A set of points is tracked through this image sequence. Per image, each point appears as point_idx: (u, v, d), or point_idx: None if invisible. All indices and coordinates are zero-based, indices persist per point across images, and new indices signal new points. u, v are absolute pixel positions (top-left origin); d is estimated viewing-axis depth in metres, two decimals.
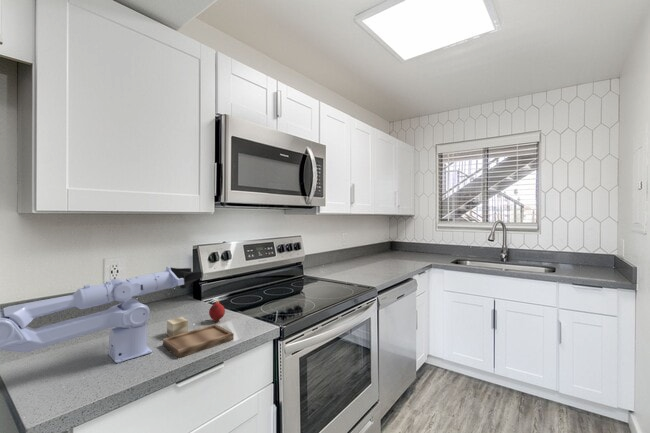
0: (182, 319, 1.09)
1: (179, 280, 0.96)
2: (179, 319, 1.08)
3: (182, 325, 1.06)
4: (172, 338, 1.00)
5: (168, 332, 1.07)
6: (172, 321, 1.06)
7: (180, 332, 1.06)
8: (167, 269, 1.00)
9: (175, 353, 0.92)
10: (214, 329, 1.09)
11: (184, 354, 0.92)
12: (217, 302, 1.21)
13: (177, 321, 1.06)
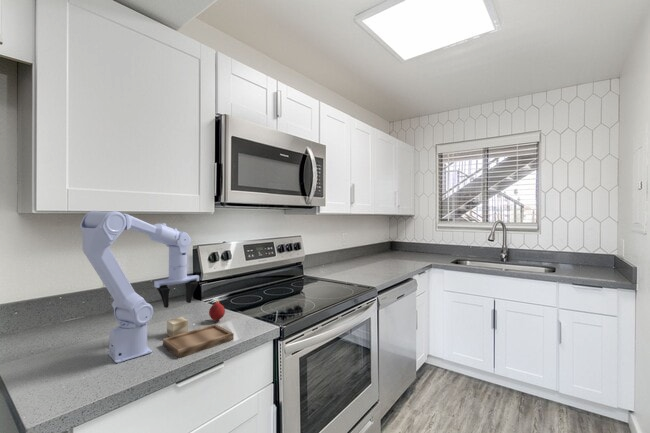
0: (182, 319, 1.09)
1: None
2: (179, 319, 1.08)
3: (182, 325, 1.06)
4: (172, 338, 1.00)
5: (168, 332, 1.07)
6: (172, 321, 1.06)
7: (180, 332, 1.06)
8: None
9: (175, 353, 0.92)
10: (214, 329, 1.09)
11: (184, 354, 0.92)
12: (217, 302, 1.21)
13: (177, 321, 1.06)
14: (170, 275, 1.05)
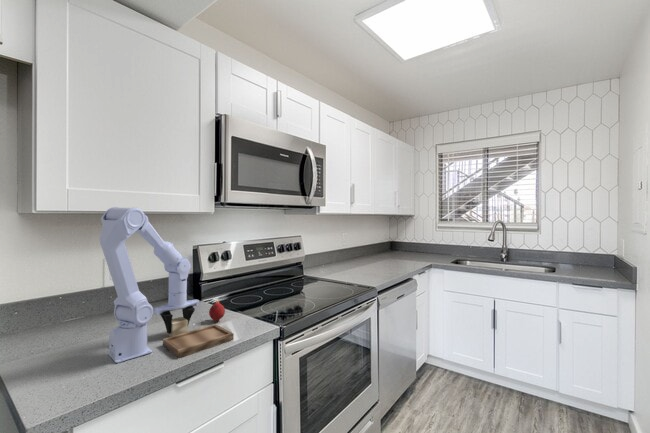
0: (182, 319, 1.09)
1: None
2: (179, 319, 1.08)
3: (182, 325, 1.06)
4: (172, 338, 1.00)
5: None
6: (172, 321, 1.06)
7: (180, 332, 1.06)
8: None
9: (175, 353, 0.92)
10: (214, 329, 1.09)
11: (184, 354, 0.92)
12: (217, 302, 1.21)
13: (177, 321, 1.06)
14: (170, 301, 1.05)
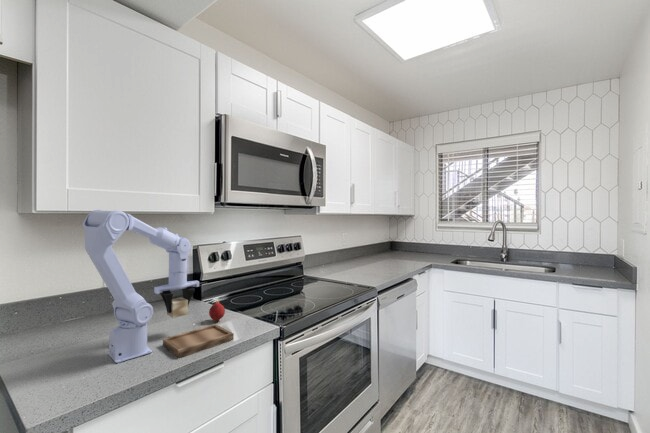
0: (182, 299, 1.08)
1: None
2: (179, 299, 1.08)
3: (182, 305, 1.06)
4: (172, 338, 1.00)
5: None
6: (172, 301, 1.06)
7: (180, 311, 1.06)
8: None
9: (175, 353, 0.92)
10: (214, 329, 1.09)
11: (184, 354, 0.92)
12: (217, 302, 1.21)
13: (177, 301, 1.06)
14: (170, 281, 1.05)
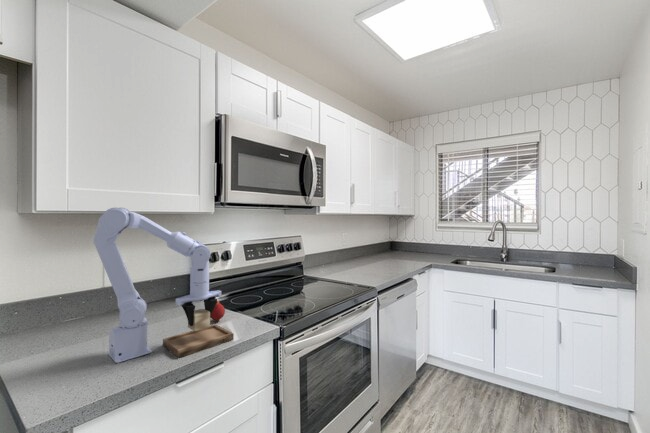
0: (204, 310, 1.02)
1: None
2: (200, 311, 1.02)
3: (204, 317, 1.00)
4: (172, 338, 1.00)
5: None
6: (194, 313, 1.00)
7: (202, 324, 1.00)
8: None
9: (175, 353, 0.92)
10: (214, 329, 1.09)
11: (184, 354, 0.92)
12: (217, 302, 1.21)
13: (199, 313, 1.00)
14: (192, 292, 0.98)
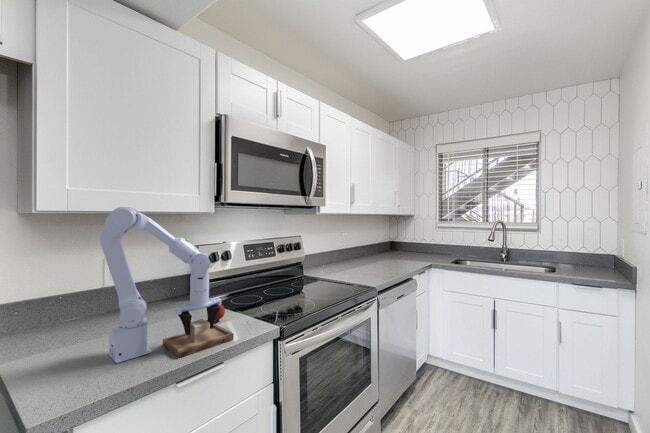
0: (204, 321, 1.02)
1: None
2: (200, 322, 1.02)
3: (204, 328, 1.00)
4: (172, 338, 1.00)
5: (189, 335, 1.00)
6: (194, 324, 1.00)
7: (202, 335, 1.00)
8: None
9: (175, 353, 0.92)
10: (214, 329, 1.09)
11: (184, 354, 0.92)
12: None
13: (198, 324, 1.00)
14: (192, 300, 0.98)
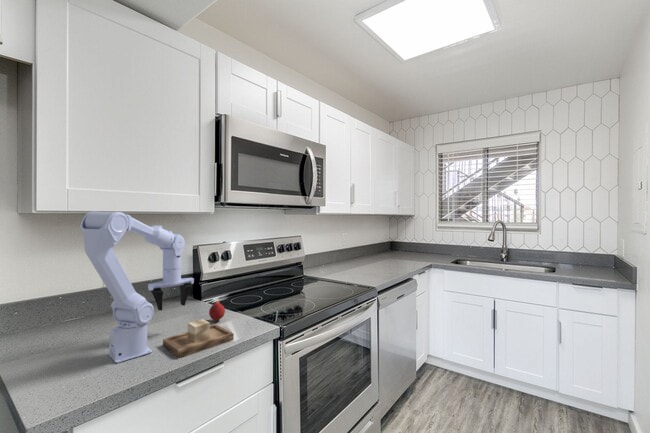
0: (204, 321, 1.02)
1: None
2: (200, 322, 1.02)
3: (204, 328, 1.00)
4: (172, 338, 1.00)
5: (189, 335, 1.00)
6: (194, 324, 1.00)
7: (202, 335, 1.00)
8: None
9: (175, 353, 0.92)
10: (214, 329, 1.09)
11: (184, 354, 0.92)
12: (217, 302, 1.21)
13: (198, 324, 1.00)
14: (164, 278, 1.05)
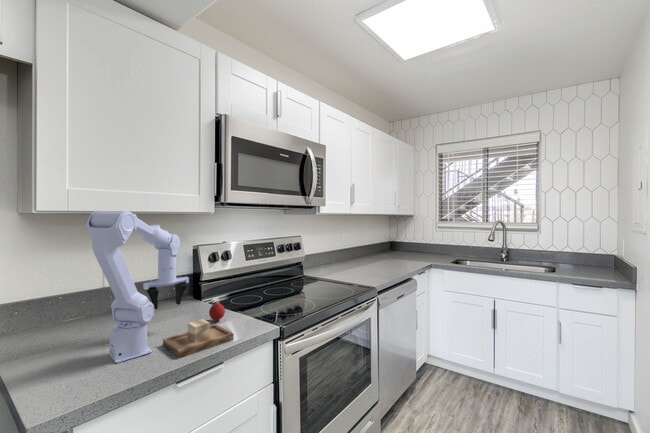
0: (204, 321, 1.02)
1: None
2: (200, 322, 1.02)
3: (204, 328, 1.00)
4: (172, 338, 1.00)
5: (189, 335, 1.00)
6: (194, 324, 1.00)
7: (202, 335, 1.00)
8: None
9: (175, 353, 0.92)
10: (214, 329, 1.09)
11: (184, 354, 0.92)
12: (217, 302, 1.21)
13: (198, 324, 1.00)
14: (159, 277, 1.06)
